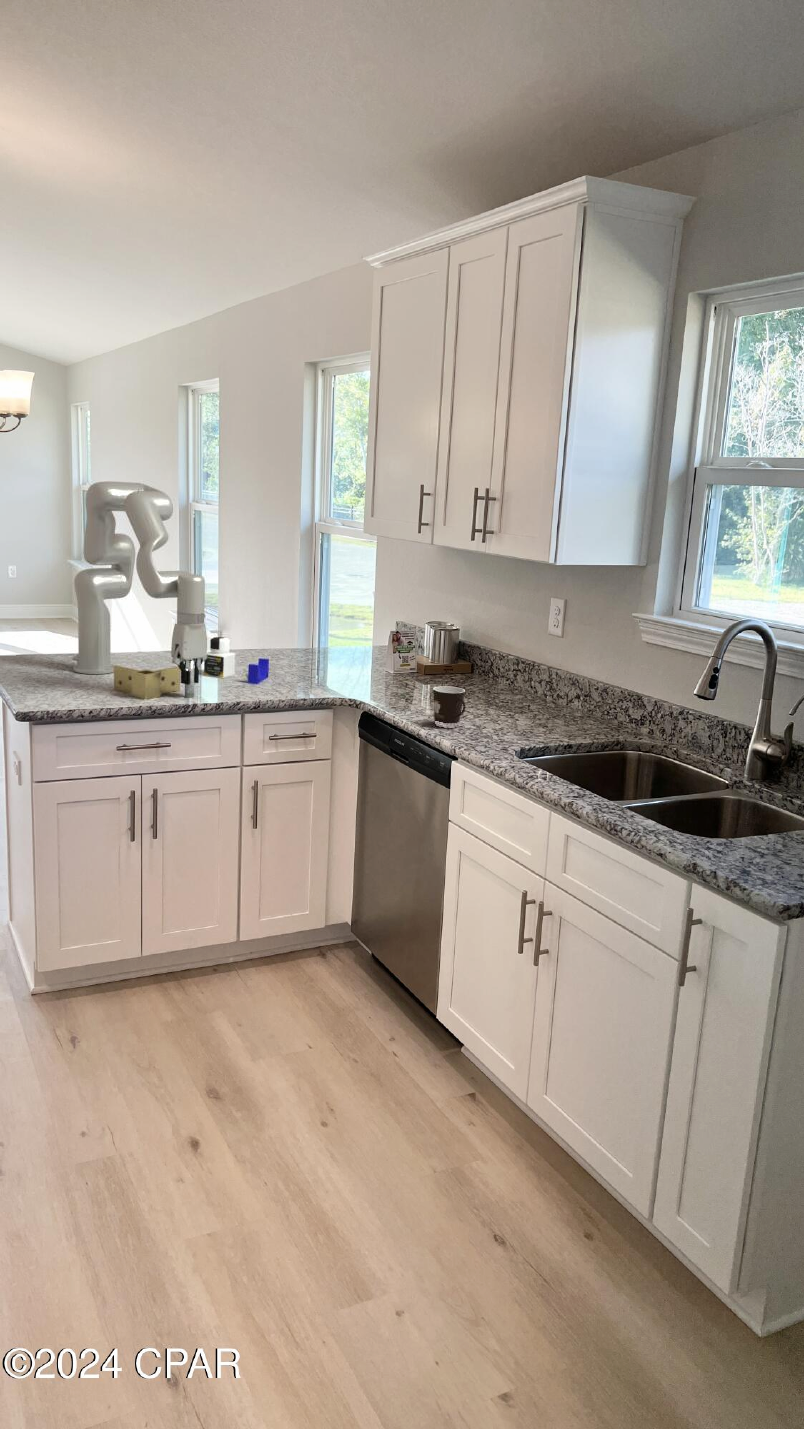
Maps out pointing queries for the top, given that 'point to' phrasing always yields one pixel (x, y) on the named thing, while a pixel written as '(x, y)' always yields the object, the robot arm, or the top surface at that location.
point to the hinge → (146, 681)
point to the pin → (190, 688)
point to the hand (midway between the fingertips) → (189, 682)
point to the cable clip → (258, 671)
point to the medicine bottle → (219, 659)
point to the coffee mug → (448, 704)
